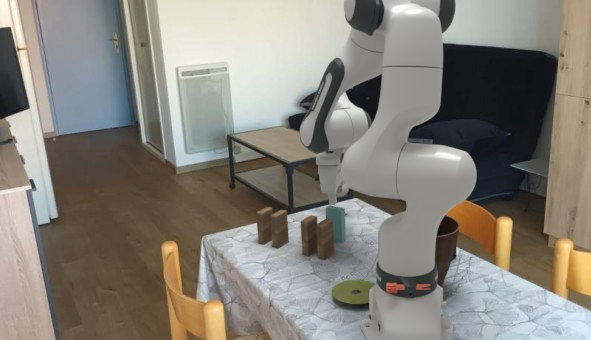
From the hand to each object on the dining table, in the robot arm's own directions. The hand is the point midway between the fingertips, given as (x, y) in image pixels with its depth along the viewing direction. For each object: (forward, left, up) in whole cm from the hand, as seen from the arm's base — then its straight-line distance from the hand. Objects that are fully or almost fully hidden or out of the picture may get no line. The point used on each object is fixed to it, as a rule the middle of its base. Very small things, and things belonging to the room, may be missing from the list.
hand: (336, 197), depth 159 cm
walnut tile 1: (-1, +20, -13) cm, 24 cm away
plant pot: (-29, -21, -13) cm, 38 cm away
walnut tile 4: (-9, +7, -13) cm, 17 cm away
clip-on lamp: (+20, +1, -13) cm, 24 cm away
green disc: (-34, -5, -13) cm, 36 cm away
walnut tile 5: (-11, +3, -13) cm, 17 cm away
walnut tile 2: (-4, +16, -13) cm, 21 cm away
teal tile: (-1, 0, -13) cm, 13 cm away
